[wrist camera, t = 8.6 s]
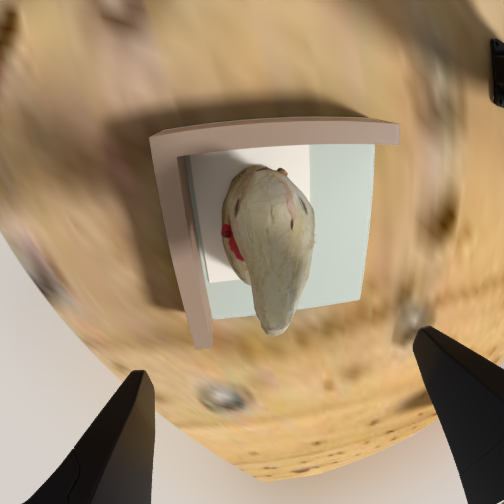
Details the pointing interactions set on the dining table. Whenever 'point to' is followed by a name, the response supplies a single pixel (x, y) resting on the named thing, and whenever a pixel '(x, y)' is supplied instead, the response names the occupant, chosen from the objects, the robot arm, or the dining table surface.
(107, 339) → the dining table surface
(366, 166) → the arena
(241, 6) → the dining table surface
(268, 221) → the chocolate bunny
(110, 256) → the dining table surface
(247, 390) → the dining table surface
